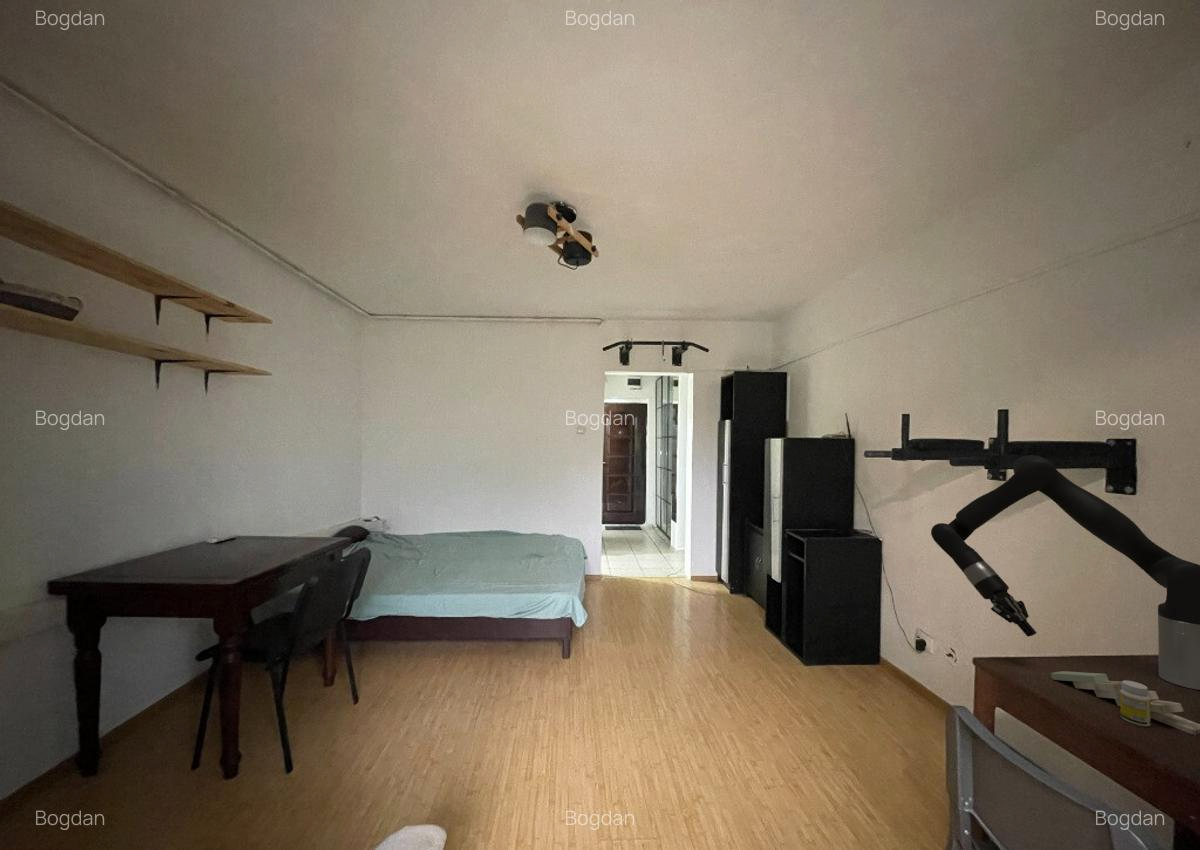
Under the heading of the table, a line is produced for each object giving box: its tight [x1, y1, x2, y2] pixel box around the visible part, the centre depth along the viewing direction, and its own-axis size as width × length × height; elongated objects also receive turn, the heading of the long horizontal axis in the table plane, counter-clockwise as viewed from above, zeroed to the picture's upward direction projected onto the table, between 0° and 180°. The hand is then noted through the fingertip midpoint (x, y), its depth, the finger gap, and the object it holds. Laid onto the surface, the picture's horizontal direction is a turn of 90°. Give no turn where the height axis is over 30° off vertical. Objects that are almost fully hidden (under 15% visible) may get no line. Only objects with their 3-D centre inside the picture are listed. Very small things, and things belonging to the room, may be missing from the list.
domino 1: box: [1049, 670, 1110, 683], centre depth 128 cm, size 5×2×10 cm
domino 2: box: [1072, 680, 1123, 692], centre depth 124 cm, size 5×2×10 cm
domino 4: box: [1114, 699, 1184, 714], centre depth 115 cm, size 5×2×10 cm
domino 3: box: [1093, 690, 1160, 700], centre depth 119 cm, size 5×2×10 cm
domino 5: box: [1151, 711, 1200, 736], centre depth 113 cm, size 5×2×10 cm
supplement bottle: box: [1119, 680, 1152, 727], centre depth 112 cm, size 5×5×8 cm
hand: (1032, 634), depth 138 cm, fingers closed
